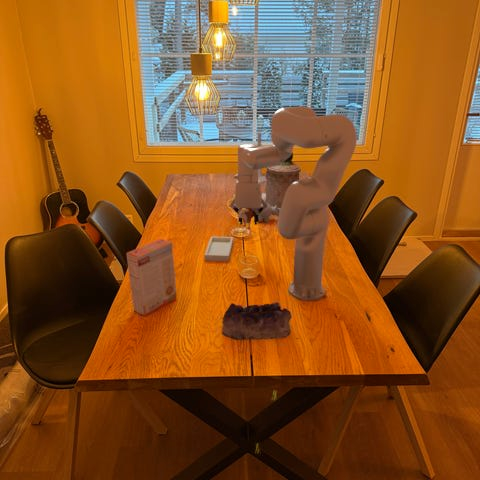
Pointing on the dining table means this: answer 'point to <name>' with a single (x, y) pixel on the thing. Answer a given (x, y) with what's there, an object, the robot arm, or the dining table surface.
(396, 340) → the dining table surface
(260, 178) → the candlestick
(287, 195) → the robot arm
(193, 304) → the dining table surface
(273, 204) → the cookie jar
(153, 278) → the cracker box
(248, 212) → the bull figurine
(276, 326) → the geode
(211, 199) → the dining table surface
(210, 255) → the tray
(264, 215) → the chubby cartoon animal
